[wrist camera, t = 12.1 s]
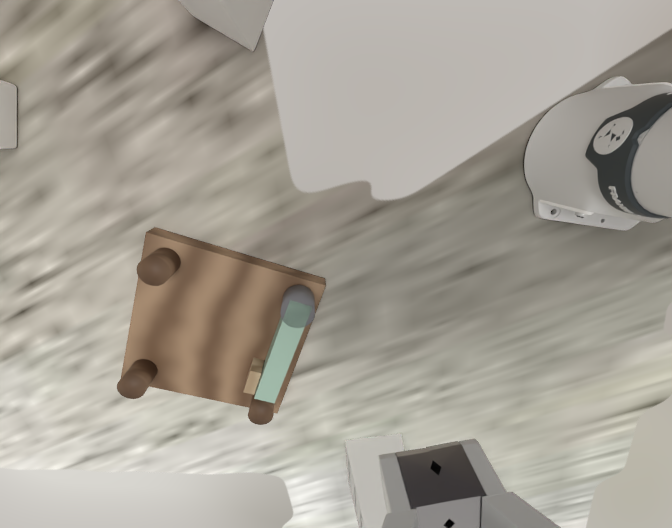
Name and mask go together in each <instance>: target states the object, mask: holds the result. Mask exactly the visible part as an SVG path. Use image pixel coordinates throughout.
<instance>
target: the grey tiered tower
mask: <svg viewBox="0 0 672 528" xmlns="http://www.w3.org/2000/svg"><path fill="white" fill-rule="evenodd" d="M345 448H346V461H347V473H348V482H349V486H350V490H351V495H352V499H353V503H354V508H355V512H356V516H357V521H358V525H359V528H382V525H383V522H384V519H385V516H386V514H387V509H386V505H385V500H384V494H383V488H382V482H381V474H380V466H379V458H378V456H379V455H382V454H388V453H394V452H401V451H404V446H403V440H402V434H401V433H399V434H391V435H382V436H374V437H365V438H357V439H348V440H345ZM348 461H349V464H348ZM349 465H350V466H349ZM349 470H350V477H349Z"/></svg>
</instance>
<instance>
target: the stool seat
mask: <svg viewBox="0 0 672 528" xmlns="http://www.w3.org/2000/svg"><path fill="white" fill-rule="evenodd" d="M137 274H138V282H137V288H136V294H135V299H134V305H133V311H132V317H131V323H130V328H129V334H128V340H127V346H126V352H125V357H124V363H123V369H122V375H121V380H120V381H119V382H118V384H117V390H118V392H119V393H120V394H121V395H122V396H124V397H126V398H130V399H136V398H139V397H141V396H142V395H143V394H144V393H145V391H146V390H147V388H148V387H149V386H150V387H155V388H159V389H164V390H169V391H174V392H178V393H183V394H188V395H193V396H197V397H202V398H207V399H211V400H216V401H221V402H226V403H230V404H235V405H240V406H245V407H249V413H248V417H249V419H250V421H251V422H253V423H255V424H259V425H263V424H267V423H269V422H270V421H271V420H272V418H273V413H278V410H279V407H280V405H281V402H282V399H283V397H284V394H285V392H286V389H287V386H288V384H289V381H290V378H291V376H292V373H293V371H294V368H295V365H296V363H297V360H298V357H299V355H300V352H301V350H302V347H303V344H304V342H305V339H306V336H307V334H308V331H309V329H310V326H311V323H312V322H311V323H310V324H309V325H307V326H305V327H304V330H303V333H302V335H301V338H300V340H299V343H298V345H297V348H296V350H295V353H294V355H293V358H292V360H291V363H290V365H289V368H288V371H287V373H286V376H285V378H284V381H283V383H282V386H281V388H280V391H279V393H278V396H277V398H276V401H275V403H271V402H266V401H262V400H258V399H254V397H255V392H256V388H257V385H258V382H259V379H260V376H261V373H262V368H263V365H264V362H265V359H266V356H267V354H268V351H269V348H270V345H271V343H272V340H273V337H274V334H275V332H276V329H277V326H278V323H279V321H280V318H281V313H280V312H281V306H282V300H283V295H284V293H285V291H286V290H287V289H288V288H289V287H291V286H294V285H303V286H306V287H308V288H309V289H310V290H311V291H312V292H313V294H314V302H315V313H316V310H317V308H318V305H319V302H320V300H321V297H322V294H323V292H324V289H325V287H326V283H325V278H322V277H318V276H315V275H312V274H308V273H305V272H302V271H298V270H295V269H292V268H288V267H285V266H282V265H278V264H275V263H272V262H268V261H265V260H262V259H258V258H255V257H252V256H248V255H245V254H242V253H238V252H235V251H232V250H228V249H225V248H222V247H218V246H215V245H212V244H208V243H205V242H202V241H198V240H195V239H192V238H188V237H185V236H182V235H179V234H175V233H172V232H169V231H165V230H162V229H159V228H153V229H151V230H149V231H148V232H146V235H145V241H144V247H143V253H142V259H141V261H140V263H139V264H138V266H137Z"/></svg>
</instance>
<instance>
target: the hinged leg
mask: <svg viewBox="0 0 672 528" xmlns="http://www.w3.org/2000/svg"><path fill="white" fill-rule="evenodd" d="M280 313H281V318H280V321H279V323H278V326H277V329H276V332H275V334H274V337H273V340H272V343H271V345H270V348H269V351H268V354H267V356H266V359H265V362H264V365H263V368H262V373H261V376H260V379H259V382H258V385H257V388H256V392H255V397H254V399H258V400H262V401H266V402H271V403H275V401H276V398H277V396H278V393H279V391H280V388H281V386H282V383H283V381H284V378H285V376H286V373H287V371H288V368H289V365H290V363H291V360H292V358H293V355H294V353H295V350H296V348H297V345H298V343H299V340H300V338H301V335H302V333H303V330H304V327H305V326H307V325H309V324H310V323H311V322H312V321H313V319H314V316H315V302H314V294H313V292H312V291H311V290H310V289H309V288H308V287H306V286H303V285H294V286H291V287H289V288H288V289H287V290H286V291H285V293H284V295H283V300H282V306H281V312H280Z"/></svg>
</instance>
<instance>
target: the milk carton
mask: <svg viewBox="0 0 672 528" xmlns="http://www.w3.org/2000/svg"><path fill="white" fill-rule="evenodd" d="M178 1H179V2H180V3H181V4H182V5H183V6H184V7H185V8H186V9H187V10H188V11H189V12H190V14H191V15H192V16H194V17H195V18H197V19H199V20H200V21H202V22H204V23H206V24H207V25H209V26H211V27H212V28H214V29H216V30H217V31H219V32H221V33H222V34H224V35H226V36H227V37H229V38H231V39H232V40H234V41H236V42H238V43H239V44H241V45H243V46H244V47H246V48H248V49H249V50H251V51H254V50H255V48H256V45H257V42H258V40H259V37H260V35H261V32H262V29H263V27H264V24H265V22H266V19H267V16H268V13H269V11H270V9H271V6H272V3H273V1H274V0H178Z"/></svg>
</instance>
